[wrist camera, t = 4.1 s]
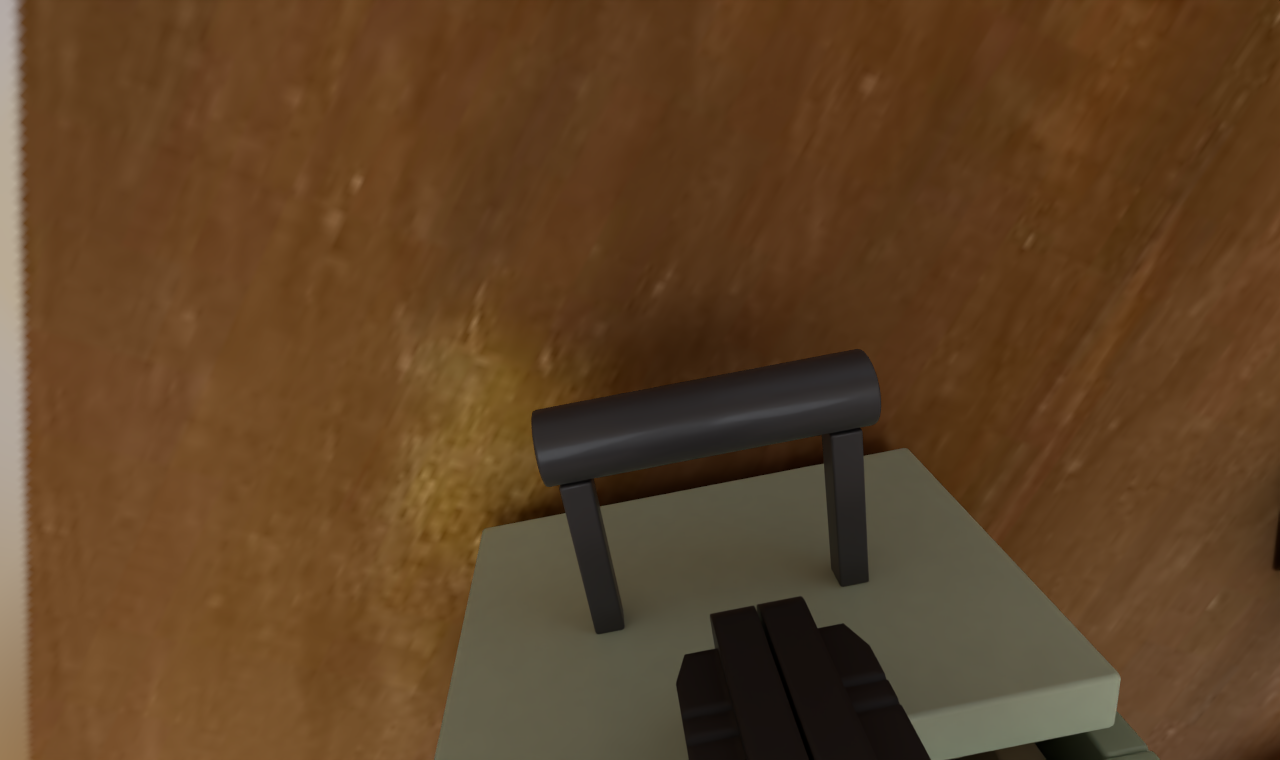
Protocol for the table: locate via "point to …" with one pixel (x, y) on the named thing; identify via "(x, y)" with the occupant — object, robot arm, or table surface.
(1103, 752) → the cabinet
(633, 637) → the drawer
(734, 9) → the table surface
